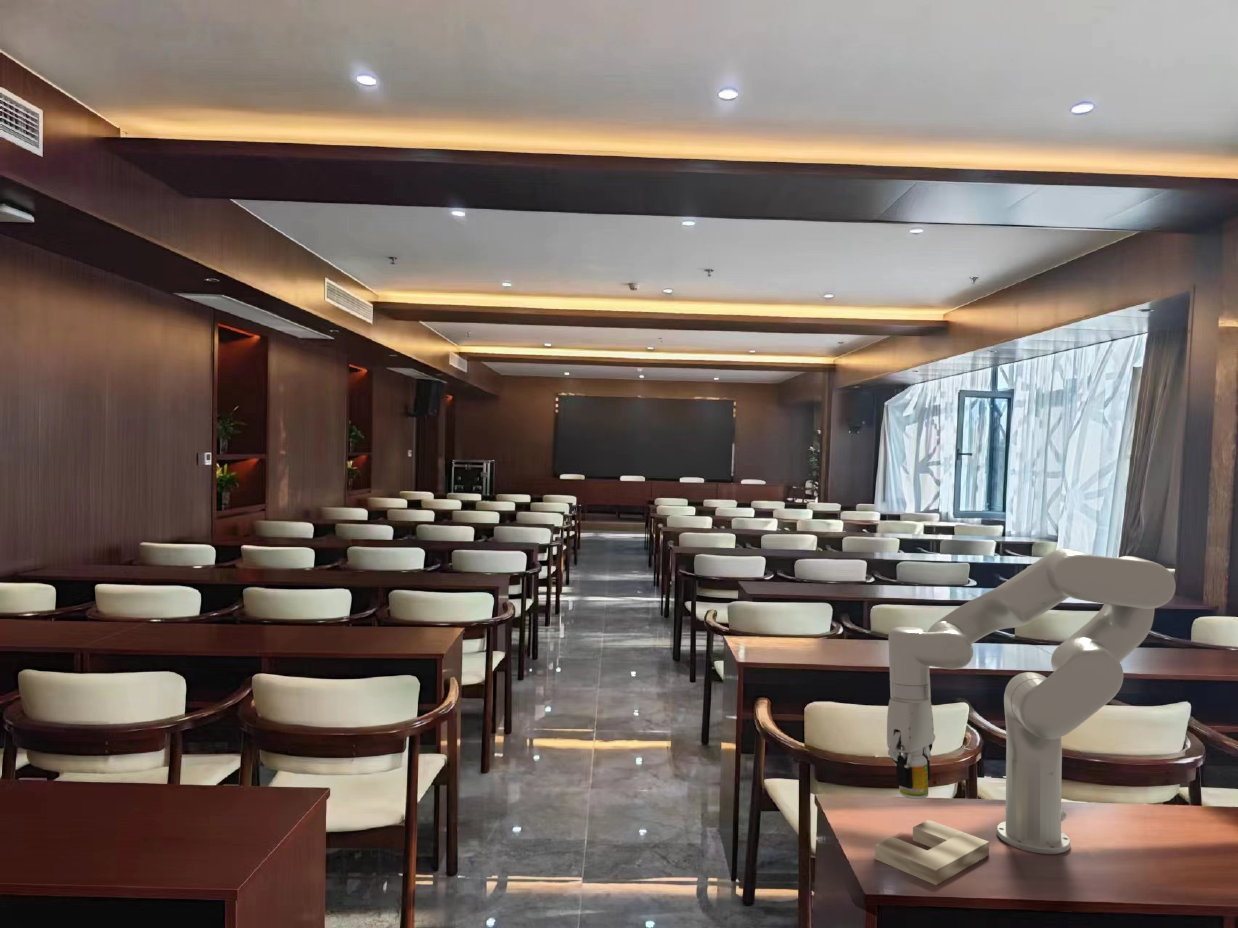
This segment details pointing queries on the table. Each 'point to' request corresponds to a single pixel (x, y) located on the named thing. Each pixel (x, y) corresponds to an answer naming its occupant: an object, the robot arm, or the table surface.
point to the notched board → (933, 852)
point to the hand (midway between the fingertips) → (913, 781)
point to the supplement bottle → (917, 776)
